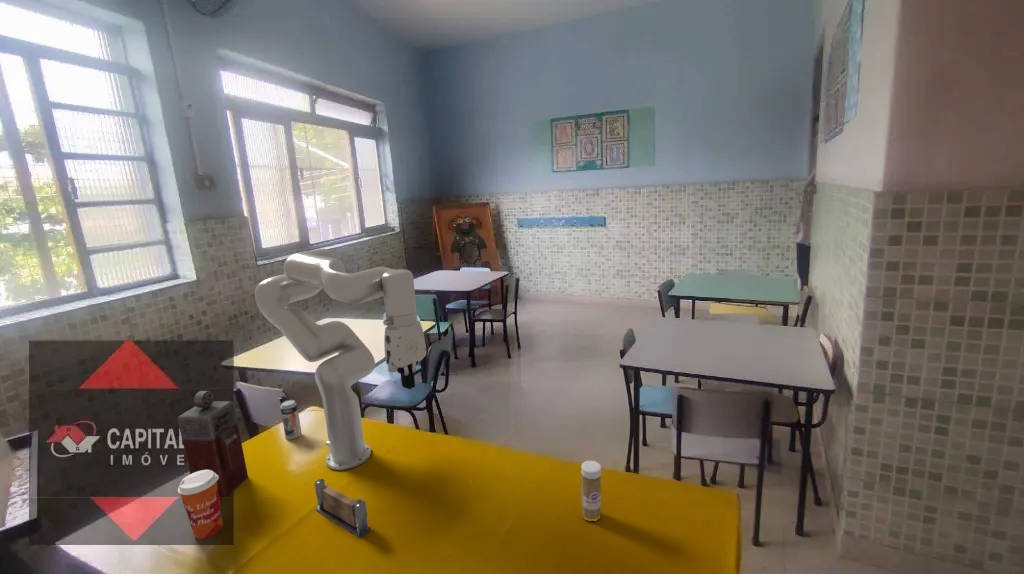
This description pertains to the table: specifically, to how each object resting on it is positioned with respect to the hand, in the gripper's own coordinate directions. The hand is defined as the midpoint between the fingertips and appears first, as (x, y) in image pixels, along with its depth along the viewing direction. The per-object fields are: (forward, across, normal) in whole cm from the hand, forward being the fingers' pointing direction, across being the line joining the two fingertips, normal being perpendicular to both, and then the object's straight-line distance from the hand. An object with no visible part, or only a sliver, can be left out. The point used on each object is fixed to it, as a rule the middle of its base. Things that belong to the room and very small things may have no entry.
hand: (408, 386), depth 116 cm
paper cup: (+27, -41, +28) cm, 56 cm away
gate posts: (+27, -21, +4) cm, 34 cm away
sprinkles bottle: (+27, +13, -46) cm, 55 cm away
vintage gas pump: (+27, -31, +42) cm, 59 cm away
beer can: (+27, -7, +51) cm, 58 cm away
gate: (+26, -21, +4) cm, 33 cm away
